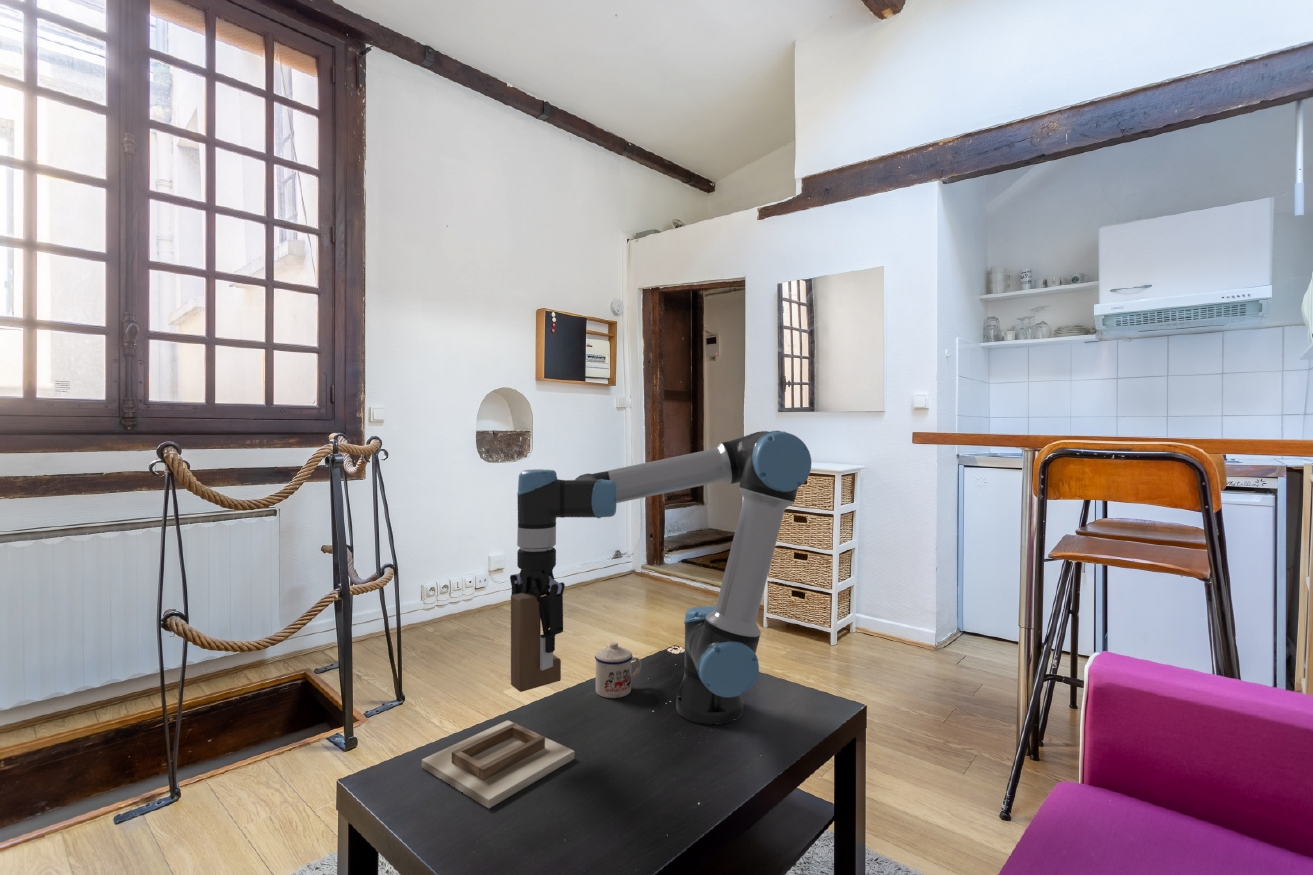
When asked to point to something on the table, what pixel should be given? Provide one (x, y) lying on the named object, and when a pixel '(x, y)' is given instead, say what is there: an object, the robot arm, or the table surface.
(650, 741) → the table surface
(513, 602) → the wooden block
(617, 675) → the teacup with lid
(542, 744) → the keyed plate
